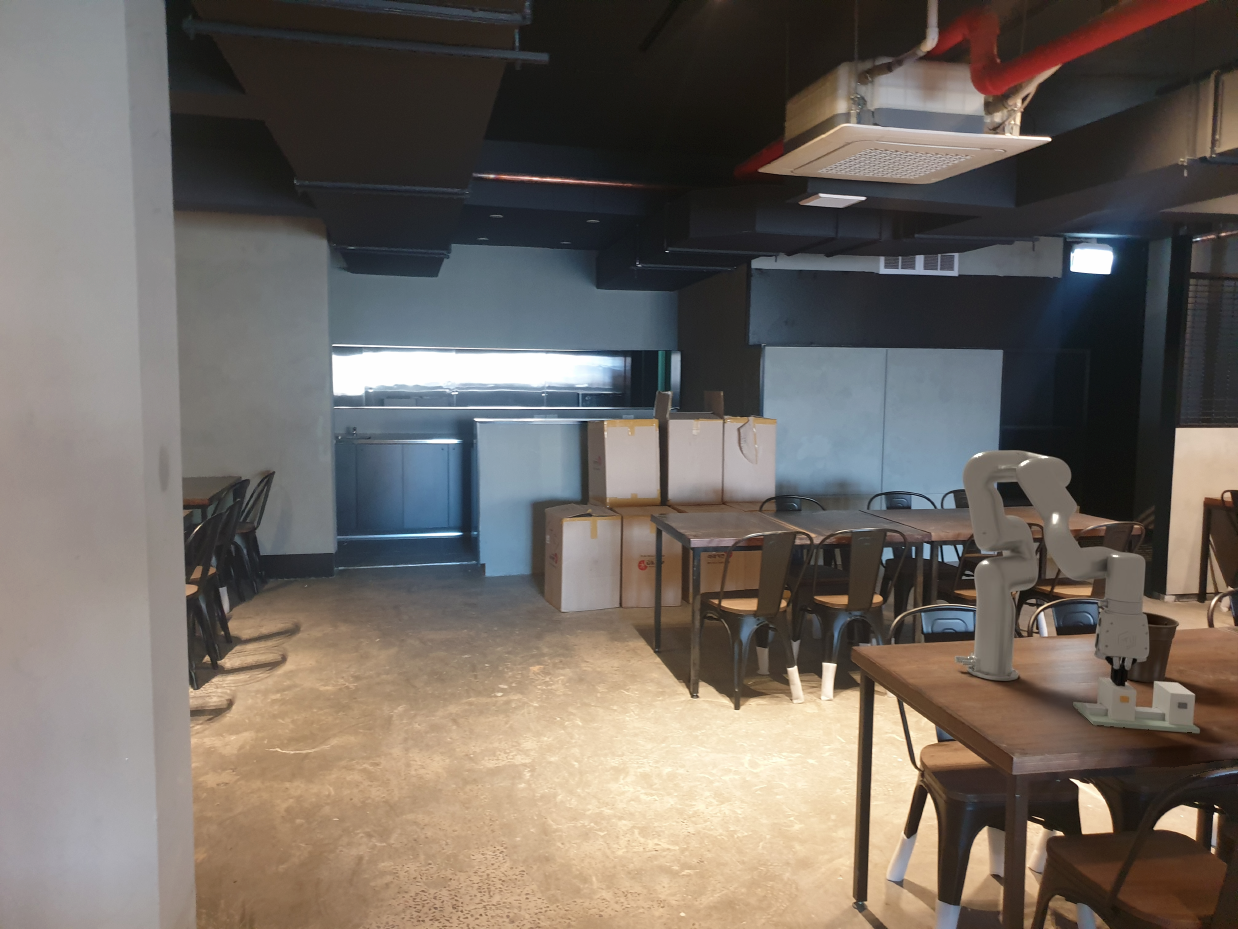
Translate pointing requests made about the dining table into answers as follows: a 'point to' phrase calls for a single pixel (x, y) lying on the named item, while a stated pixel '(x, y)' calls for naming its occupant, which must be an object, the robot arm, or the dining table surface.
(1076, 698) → the dining table surface
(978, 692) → the dining table surface
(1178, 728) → the din panel
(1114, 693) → the block
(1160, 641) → the plant pot
